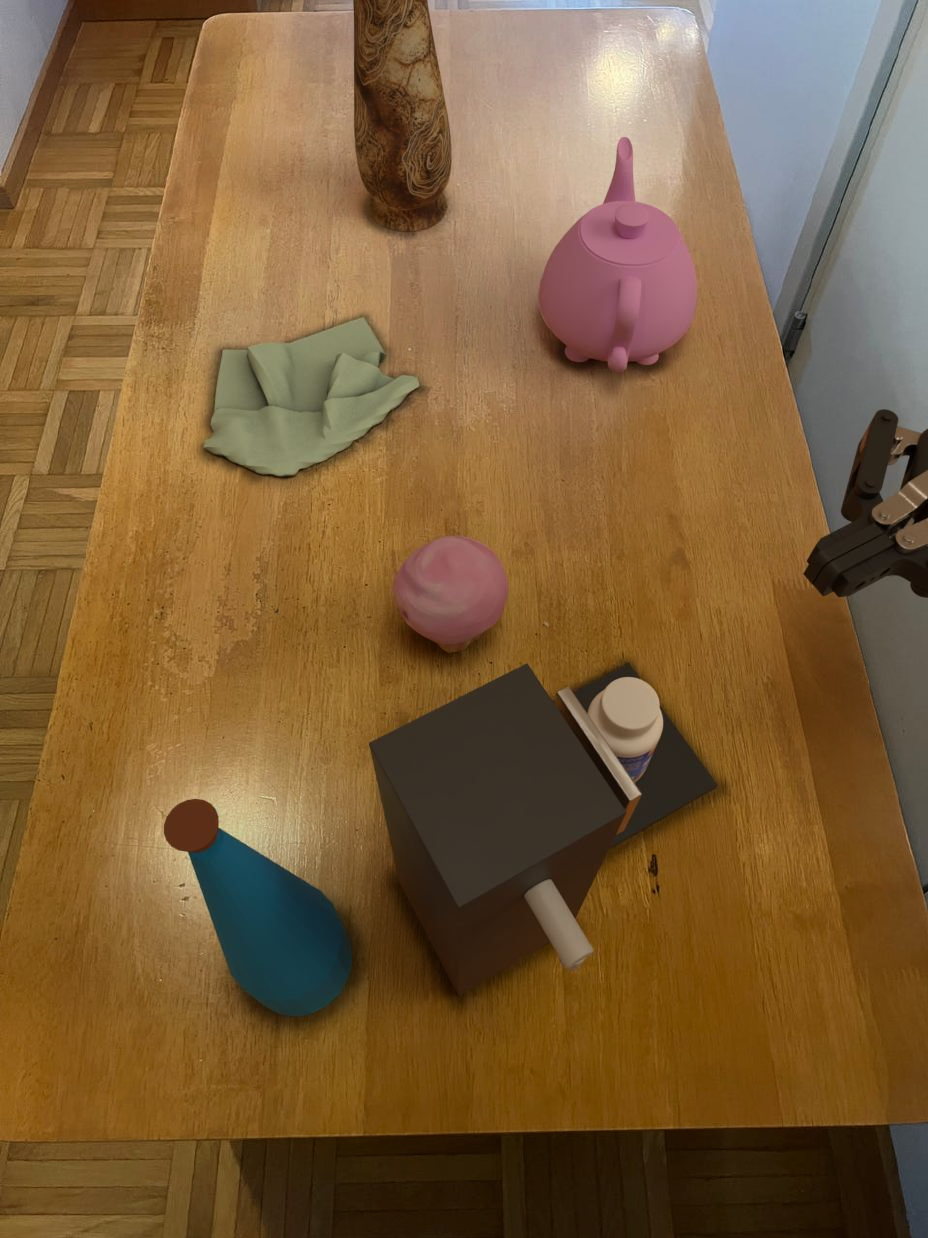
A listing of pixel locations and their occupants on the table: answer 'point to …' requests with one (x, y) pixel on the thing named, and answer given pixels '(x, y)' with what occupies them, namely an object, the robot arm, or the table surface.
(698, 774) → the mat
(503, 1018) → the table surface
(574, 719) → the plate
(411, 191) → the vase
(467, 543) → the cupcake
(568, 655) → the table surface
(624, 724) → the pill bottle
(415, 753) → the soap dispenser
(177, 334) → the table surface
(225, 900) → the bottle
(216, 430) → the cloth
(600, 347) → the teapot
